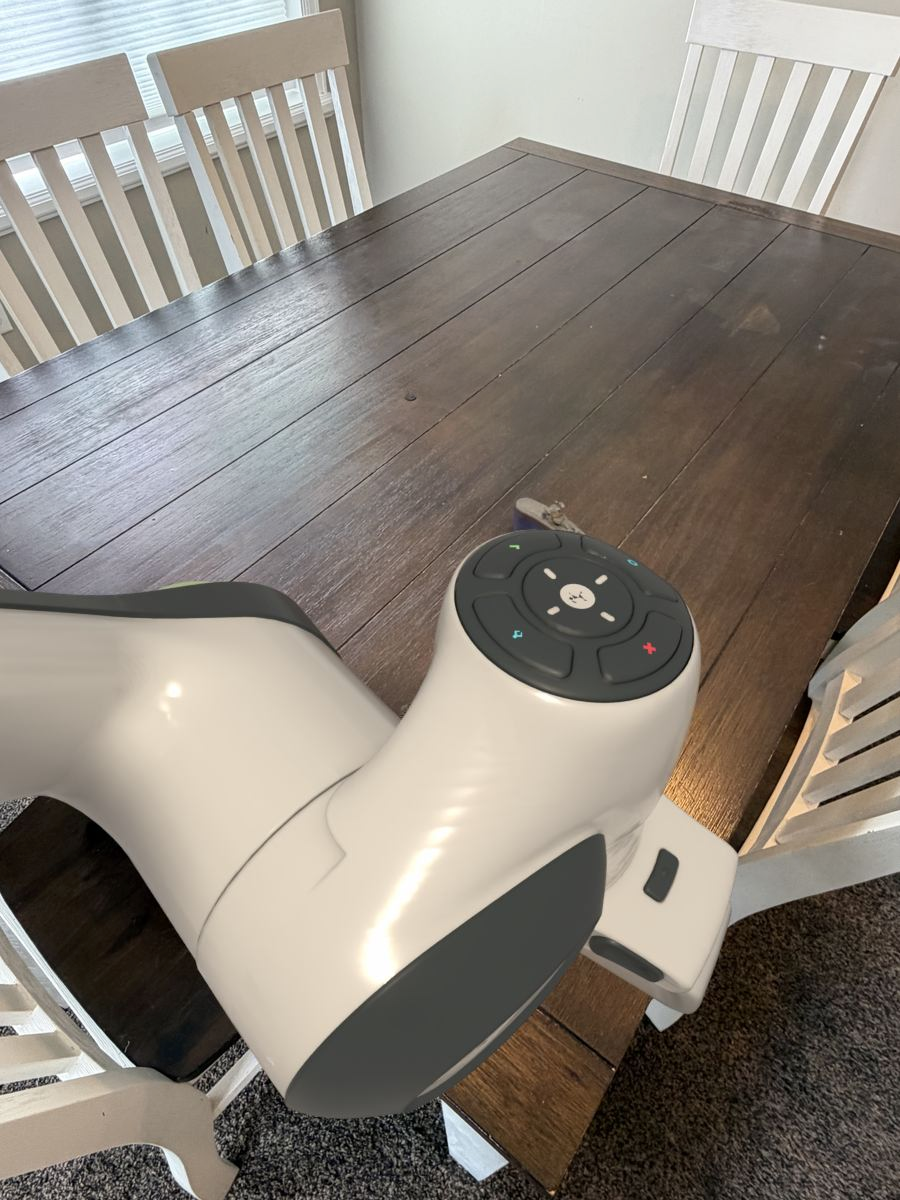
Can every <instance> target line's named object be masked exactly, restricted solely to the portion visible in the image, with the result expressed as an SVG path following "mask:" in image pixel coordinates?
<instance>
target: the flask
mask: <svg viewBox="0 0 900 1200" xmlns="http://www.w3.org/2000/svg"><path fill="white" fill-rule="evenodd" d="M557 504H558V505H557ZM565 507H566V506H565V504H564V502H562V501H557V500H554V503H553V504H551V505H550V506H548V505H546V504H544V503H542V502H540V501H538V500H535V499H533V498H531V497H526V496H525V497H521V498H519V499H516V501H515V502H514V505H513V522H512V523H513V525H512V532H516V531H522V530H532V529H553V530H564V531H569V532H575V533H579V534H584V535H587V534H586V533H585V532H584V531H583V530H582V529H581V528H579V526H578V525H577V524H576V523H574V522H573V521H572V520H570V519H569V518H568V517H567V515H566V514H565V513H564V512H562V508H565Z"/></svg>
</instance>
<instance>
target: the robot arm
mask: <svg viewBox="0 0 900 1200" xmlns="http://www.w3.org/2000/svg"><path fill="white" fill-rule="evenodd" d="M211 582H212V583H202V584H194V585H187V586H181V587H174V588H168V589H161V590H157V589H154V590H148V591H140V592H131V593H118V594H99V595H98V594H70V593H56V592H54V593H53V592H43V591H32V590H23V589H10V588H0V804H3V803H7V802H13V801H17V800H20V799H26V798H32V797H39V796H41V797H48V798H52V799H55V800H58V801H60V802H63V803H65V804H67V805H69V806H70V807H72V808H74V809H76V810H77V811H79V812H81V813H83V815H85V816H87V817H88V818H89V819H90V820H91V821H93V822H94V823H96V824H97V825H98V826H100V828H102V830H103V831H105V832H106V833H107V834H108V835H109V836H110V837H111V838H113V840H114V841H115V843H117V844H118V845H119V846H120V847H121V849H122V850H123V852H124V853H125V854H126V855H127V856H128V858H129V860H130V861H131V863H132V864H133V866H134V868H135V869H136V871H137V873H138V874H139V875H140V877H141V878H142V880H143V881H144V883H145V885H146V886H147V887H148V889H149V890H150V892H151V894H152V895H153V897H154V898H155V900H156V901H157V903H158V904H159V906H160V908H161V909H162V911H163V912H164V914H165V915H166V917H167V919H168V920H169V922H170V923H171V925H172V926H173V927H174V929H175V931H176V932H177V934H178V936H179V937H180V938H181V940H182V942H183V944H185V946H186V948H187V949H188V951H189V953H191V956H192V957H193V959H194V960H195V963H196V967H197V970H198V971H199V974H200V975H201V976H202V978H203V980H204V981H205V982H206V984H207V985H208V987H209V989H210V990H211V992H212V994H213V995H214V996H215V998H216V1000H217V1002H218V1003H219V1005H220V1006H221V1008H222V1009H223V1010H224V1012H225V1014H226V1016H227V1017H228V1019H229V1020H230V1022H231V1023H232V1025H233V1026H234V1028H235V1030H236V1031H237V1033H238V1034H239V1035H240V1037H241V1038H242V1040H243V1041H244V1043H245V1044H246V1046H247V1047H248V1049H249V1050H250V1052H251V1053H252V1055H253V1056H254V1058H255V1059H256V1062H258V1064H259V1065H260V1067H261V1068H262V1070H263V1071H264V1073H265V1074H266V1076H267V1077H268V1078H269V1080H270V1081H271V1083H272V1084H273V1086H274V1088H275V1089H276V1090H277V1091H278V1093H279V1094H280V1095H281V1097H282V1098H283V1100H284V1104H285V1107H286V1108H288V1109H290V1110H293V1111H296V1112H298V1113H301V1114H304V1115H309V1116H313V1117H318V1118H326V1119H339V1120H341V1119H343V1120H347V1119H348V1120H349V1119H362V1118H363V1119H365V1118H375V1117H376V1118H377V1117H383V1116H384V1117H385V1116H390V1115H391V1116H392V1115H396V1114H404V1113H409V1112H412V1111H414V1110H417V1109H419V1108H420V1107H421V1108H422V1107H423V1106H425V1105H426V1104H429V1103H430V1102H431V1101H434V1100H435V1099H437V1098H438V1097H440V1096H442V1095H443V1094H445V1093H447V1092H448V1091H449V1090H451V1089H452V1088H453V1087H455V1086H456V1085H457V1084H459V1083H461V1082H462V1081H463V1080H465V1079H466V1078H467V1077H468V1076H470V1074H472V1073H473V1072H474V1071H475V1070H477V1069H478V1068H479V1067H480V1066H481V1065H483V1063H485V1062H486V1061H487V1060H489V1059H490V1057H491V1056H493V1055H494V1054H495V1053H496V1052H497V1051H498V1050H499V1049H500V1048H501V1047H502V1046H503V1045H504V1044H505V1043H506V1042H507V1041H508V1040H509V1039H511V1037H512V1036H514V1034H515V1033H516V1032H517V1031H518V1030H519V1029H520V1028H521V1027H522V1026H523V1025H524V1024H525V1023H526V1022H527V1020H529V1018H530V1017H531V1016H532V1015H533V1014H534V1013H535V1011H536V1010H537V1009H538V1008H539V1007H540V1006H541V1005H542V1003H543V1002H544V1001H545V1000H546V999H547V997H548V996H549V995H550V994H551V992H552V991H553V990H554V988H555V987H557V985H558V984H559V982H560V981H561V980H562V978H563V977H564V975H566V973H567V971H568V970H569V969H570V967H571V966H572V964H574V962H575V960H576V959H577V958H578V956H579V954H581V955H582V956H584V957H585V958H587V959H589V960H591V961H592V962H594V963H596V965H599V966H600V967H602V968H603V969H605V970H607V971H609V972H611V973H612V974H613V975H615V976H616V977H618V978H620V979H622V980H623V981H625V982H627V983H628V984H630V985H631V986H633V987H634V988H636V989H638V990H639V991H641V992H643V993H645V995H648V996H649V997H651V998H652V999H654V1000H655V1001H657V1002H658V1003H660V1004H662V1005H663V1006H665V1007H667V1008H669V1009H671V1010H674V1011H677V1012H679V1013H682V1014H685V1015H691V1014H693V1013H695V1012H696V1011H698V1009H699V1007H700V1006H701V1004H702V1002H703V1000H704V997H705V994H706V991H707V988H708V986H709V983H710V980H711V978H712V976H713V972H714V970H715V967H716V965H717V962H718V958H719V955H720V952H721V949H722V945H723V943H724V939H725V937H726V934H727V932H728V928H729V925H730V922H731V917H732V912H733V910H732V902H731V899H732V895H733V889H734V886H735V882H736V876H737V871H738V866H739V859H740V858H739V855H738V852H737V851H736V850H735V849H734V847H733V846H732V845H731V844H729V843H728V842H727V841H725V840H724V839H723V838H722V837H720V836H719V835H718V834H716V833H714V832H713V831H711V829H709V828H708V827H706V826H704V824H702V823H700V822H699V821H698V820H697V819H696V818H694V817H693V816H692V815H690V814H689V813H688V812H686V811H685V809H683V808H682V807H680V806H679V805H678V804H677V803H676V802H674V800H672V799H671V798H669V796H668V795H666V794H665V793H664V792H665V790H666V788H667V787H668V785H669V783H670V781H671V778H672V776H673V773H674V771H675V768H676V767H677V764H678V761H679V759H680V757H681V754H682V752H683V748H684V745H685V743H686V740H687V736H688V733H689V729H690V726H691V723H692V720H693V715H694V711H695V708H696V705H697V704H696V703H697V699H698V692H699V687H700V681H701V671H702V647H701V640H700V635H699V631H698V628H697V625H696V622H695V619H694V617H693V615H692V612H691V610H690V608H689V606H688V605H687V602H686V601H685V599H684V598H683V597H682V596H681V594H680V593H679V591H677V589H676V588H675V587H673V586H672V584H671V583H669V582H668V581H667V580H666V579H664V578H663V577H662V576H660V575H659V574H658V573H657V572H655V571H654V570H653V569H651V568H650V567H649V566H647V564H644V562H641V561H640V560H638V559H637V558H636V557H634V556H632V555H631V554H629V553H628V552H626V551H624V550H622V549H620V548H619V547H617V546H615V545H613V544H610V543H608V542H606V541H604V540H601V539H598V538H595V537H593V536H590V535H587V534H586V535H584V534H579V533H575V532H569V531H564V530H553V529H532V530H522V531H516V532H513V531H512V532H508V533H505V534H500V535H498V536H495V537H493V538H490V539H488V540H486V541H484V542H483V543H481V544H480V545H478V546H476V547H475V548H474V549H472V550H471V551H470V552H469V553H468V554H466V556H465V557H464V558H463V559H462V560H461V561H460V562H459V564H458V565H457V567H456V569H455V570H454V572H453V574H452V575H451V578H450V580H449V583H448V585H447V586H446V590H445V593H444V596H443V599H442V603H441V605H440V609H439V615H438V618H437V623H436V629H435V634H434V635H435V636H434V642H433V649H432V657H431V662H430V665H429V667H428V670H427V673H426V675H425V677H424V679H423V681H422V683H421V684H420V687H419V688H418V691H417V693H416V694H415V697H414V698H413V700H412V701H411V703H410V705H409V707H408V709H407V710H406V712H405V713H404V715H403V717H402V718H400V716H398V715H397V714H396V713H395V712H394V711H393V710H392V709H391V708H390V707H389V706H388V705H387V703H385V702H384V701H383V700H382V699H381V698H380V697H379V696H378V695H377V694H376V693H375V691H374V690H373V689H371V687H369V686H368V684H366V683H365V681H363V680H362V679H361V677H360V676H358V675H357V673H355V672H354V670H353V669H351V667H350V666H349V665H348V664H347V663H345V661H344V660H343V658H342V657H341V654H340V653H339V652H338V651H337V649H336V648H335V647H334V646H333V645H332V643H331V642H330V641H329V640H328V638H326V636H325V634H323V633H322V632H321V630H320V629H319V628H318V627H317V626H316V624H315V623H314V622H313V621H312V619H311V618H310V617H309V616H308V615H307V613H306V612H305V611H304V610H303V609H302V607H301V606H300V605H299V604H298V603H297V602H296V601H295V600H294V599H293V598H292V597H290V596H289V595H287V594H286V593H284V592H282V591H280V590H278V589H276V588H273V587H270V586H267V585H265V584H261V583H255V582H249V581H236V580H235V581H234V580H233V581H232V580H231V581H211Z"/></svg>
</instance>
